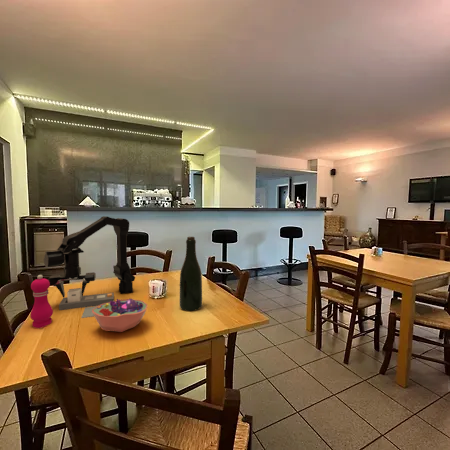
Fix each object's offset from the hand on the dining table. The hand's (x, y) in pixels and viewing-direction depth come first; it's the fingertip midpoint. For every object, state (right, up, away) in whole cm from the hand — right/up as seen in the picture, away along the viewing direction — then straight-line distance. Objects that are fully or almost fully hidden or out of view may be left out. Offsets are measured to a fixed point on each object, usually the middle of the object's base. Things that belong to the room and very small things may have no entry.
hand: (73, 296), depth 121 cm
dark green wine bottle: (+54, -5, +1) cm, 55 cm away
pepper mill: (-1, -6, -18) cm, 19 cm away
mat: (+14, -5, -6) cm, 16 cm away
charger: (+1, -4, 0) cm, 4 cm away
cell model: (+30, -7, -20) cm, 37 cm away
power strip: (+6, -5, +3) cm, 8 cm away
